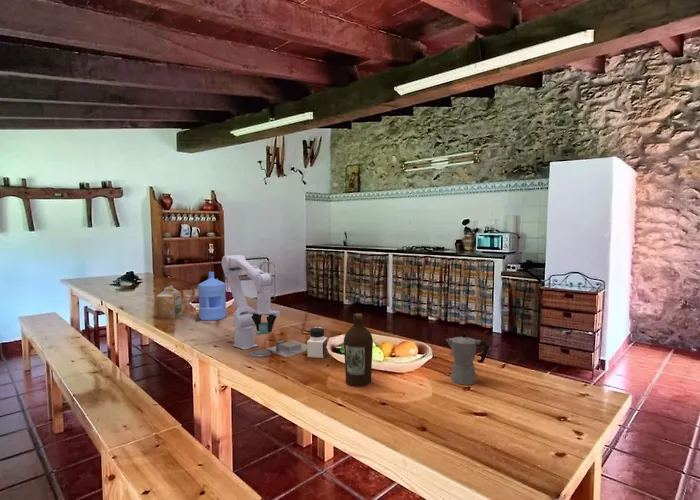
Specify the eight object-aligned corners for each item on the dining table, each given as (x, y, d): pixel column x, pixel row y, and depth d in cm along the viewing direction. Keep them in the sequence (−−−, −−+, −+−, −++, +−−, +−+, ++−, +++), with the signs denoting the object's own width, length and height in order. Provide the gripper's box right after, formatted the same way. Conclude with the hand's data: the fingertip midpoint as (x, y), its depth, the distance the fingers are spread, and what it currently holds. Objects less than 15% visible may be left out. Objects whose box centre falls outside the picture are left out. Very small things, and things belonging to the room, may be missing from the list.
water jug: (206, 314, 260) (205, 270, 258) (230, 315, 258) (229, 270, 256) (194, 320, 245) (192, 273, 242) (219, 321, 242) (217, 273, 240)
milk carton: (174, 319, 248) (173, 288, 246) (157, 319, 248) (155, 288, 246) (182, 315, 258) (180, 285, 257) (165, 315, 258) (164, 285, 257)
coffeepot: (443, 382, 150) (443, 333, 149) (447, 373, 159) (447, 327, 158) (487, 388, 145) (488, 338, 143) (489, 379, 153) (490, 331, 152)
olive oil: (349, 374, 159) (348, 310, 157) (376, 377, 155) (375, 312, 153) (340, 385, 148) (339, 316, 146) (368, 388, 145) (368, 318, 143)
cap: (252, 335, 179) (252, 326, 179) (263, 330, 187) (262, 321, 186) (262, 336, 177) (262, 327, 177) (272, 331, 185) (272, 322, 185)
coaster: (245, 354, 183) (245, 353, 183) (262, 349, 190) (262, 348, 190) (257, 358, 177) (257, 357, 177) (274, 353, 184) (274, 352, 184)
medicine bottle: (323, 358, 177) (322, 330, 176) (307, 357, 179) (306, 330, 178) (327, 352, 184) (327, 326, 183) (312, 351, 186) (311, 325, 185)
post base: (266, 350, 189) (266, 339, 188) (294, 342, 200) (294, 332, 200) (286, 357, 179) (285, 345, 179) (313, 348, 191) (313, 337, 190)
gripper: (244, 301, 181) (245, 332, 182) (274, 303, 176) (274, 334, 177) (252, 298, 187) (253, 328, 188) (281, 300, 183) (282, 330, 184)
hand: (264, 331), depth 183 cm, fingers closed on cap, 5 cm apart
